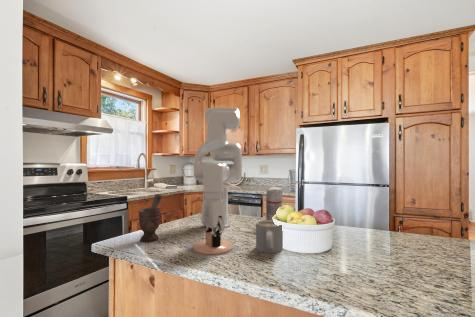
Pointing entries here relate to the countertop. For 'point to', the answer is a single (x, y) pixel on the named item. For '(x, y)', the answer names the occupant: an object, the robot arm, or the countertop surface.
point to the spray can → (273, 201)
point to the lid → (207, 248)
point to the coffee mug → (269, 237)
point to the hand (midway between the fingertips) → (213, 244)
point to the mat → (212, 255)
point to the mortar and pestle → (150, 220)
